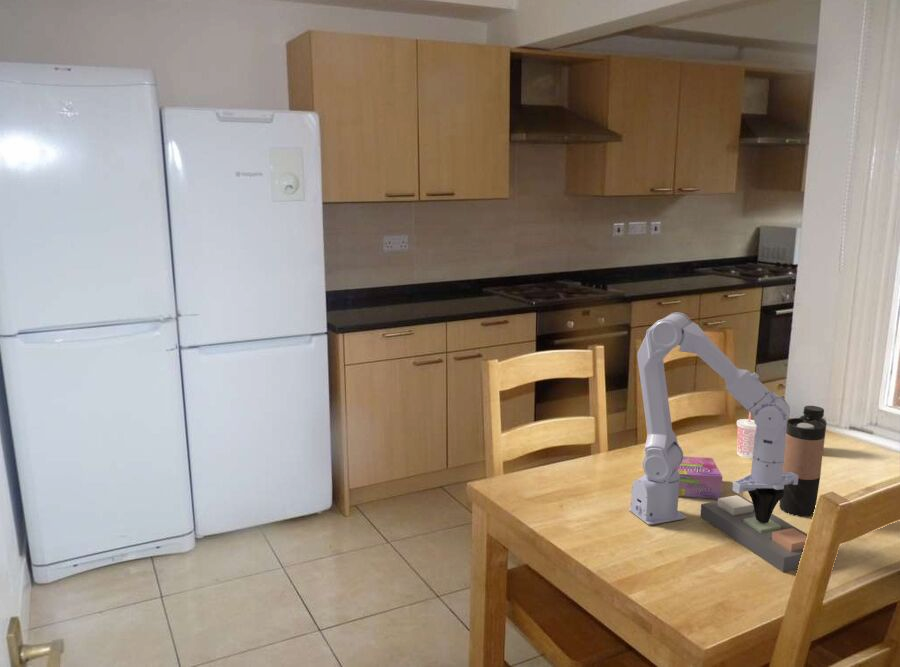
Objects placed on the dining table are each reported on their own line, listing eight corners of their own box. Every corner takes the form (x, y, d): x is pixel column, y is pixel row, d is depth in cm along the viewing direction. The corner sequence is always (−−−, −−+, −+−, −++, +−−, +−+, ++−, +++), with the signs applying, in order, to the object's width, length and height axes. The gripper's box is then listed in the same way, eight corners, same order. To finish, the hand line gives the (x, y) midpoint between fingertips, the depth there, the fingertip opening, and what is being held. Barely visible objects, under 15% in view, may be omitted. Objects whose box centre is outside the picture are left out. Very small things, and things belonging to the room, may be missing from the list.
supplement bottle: (797, 453, 195) (801, 410, 192) (793, 445, 201) (797, 403, 198) (825, 456, 193) (830, 413, 190) (820, 447, 199) (825, 405, 196)
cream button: (733, 517, 153) (733, 508, 153) (717, 507, 158) (717, 498, 157) (752, 513, 155) (753, 504, 154) (736, 503, 159) (737, 495, 159)
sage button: (760, 539, 146) (760, 529, 146) (742, 528, 151) (743, 519, 150) (780, 535, 148) (781, 526, 147) (762, 524, 152) (763, 515, 152)
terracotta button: (790, 553, 138) (791, 543, 138) (771, 541, 143) (772, 531, 143) (811, 549, 140) (812, 539, 140) (791, 537, 145) (792, 527, 144)
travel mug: (794, 519, 158) (803, 430, 153) (770, 504, 165) (778, 419, 161) (824, 514, 160) (834, 427, 155) (799, 500, 167) (807, 416, 163)
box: (712, 456, 177) (722, 476, 166) (711, 478, 179) (720, 499, 167) (668, 454, 179) (675, 473, 168) (667, 476, 180) (673, 496, 169)
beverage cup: (730, 455, 194) (734, 404, 191) (740, 449, 198) (744, 399, 195) (753, 461, 190) (757, 409, 187) (762, 455, 194) (767, 404, 191)
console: (782, 572, 137) (784, 557, 136) (700, 516, 159) (701, 504, 158) (828, 562, 140) (830, 547, 140) (741, 509, 162) (743, 496, 162)
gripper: (752, 470, 140) (746, 535, 143) (812, 460, 144) (805, 524, 147) (727, 456, 146) (722, 519, 149) (785, 448, 151) (779, 509, 154)
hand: (762, 520), depth 149 cm, fingers closed
